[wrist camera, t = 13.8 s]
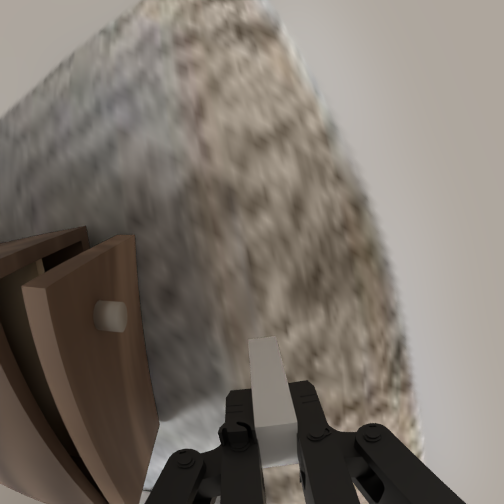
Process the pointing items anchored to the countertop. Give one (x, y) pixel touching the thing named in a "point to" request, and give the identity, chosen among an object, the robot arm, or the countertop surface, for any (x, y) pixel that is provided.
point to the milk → (144, 497)
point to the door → (98, 362)
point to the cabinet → (35, 384)
